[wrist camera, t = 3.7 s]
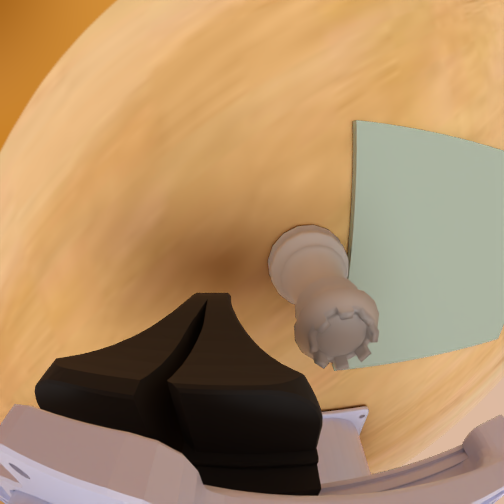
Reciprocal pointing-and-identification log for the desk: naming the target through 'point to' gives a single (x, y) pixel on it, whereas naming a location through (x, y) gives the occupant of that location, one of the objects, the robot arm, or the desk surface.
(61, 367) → the robot arm
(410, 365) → the desk surface
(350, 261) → the mat
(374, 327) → the rook chess piece
